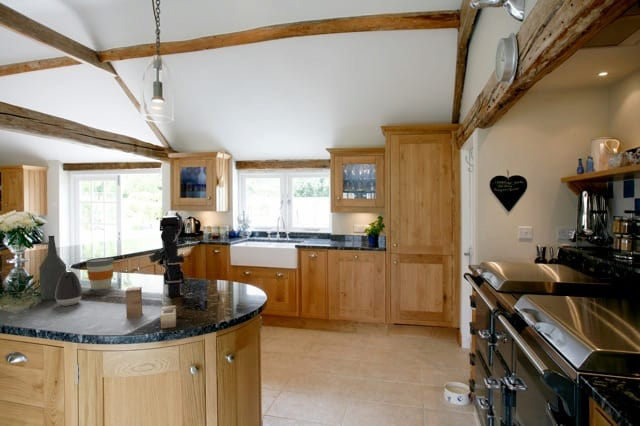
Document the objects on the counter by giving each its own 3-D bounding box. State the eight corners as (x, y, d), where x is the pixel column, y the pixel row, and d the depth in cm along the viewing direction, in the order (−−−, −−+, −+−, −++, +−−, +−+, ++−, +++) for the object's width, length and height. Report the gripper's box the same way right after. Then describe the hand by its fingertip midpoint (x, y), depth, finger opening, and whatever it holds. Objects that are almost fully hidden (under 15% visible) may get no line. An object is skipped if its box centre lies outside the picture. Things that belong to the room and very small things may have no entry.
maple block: (162, 306, 140) (160, 315, 130) (175, 305, 142) (175, 313, 132) (162, 319, 141) (161, 329, 130) (176, 317, 142) (175, 327, 132)
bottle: (43, 301, 165) (39, 237, 164) (38, 297, 172) (35, 235, 171) (69, 296, 173) (66, 235, 172) (64, 293, 180) (61, 233, 178)
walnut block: (128, 314, 146) (127, 287, 146) (142, 312, 148) (141, 286, 148) (126, 318, 142) (125, 290, 141) (140, 316, 143) (139, 289, 143)
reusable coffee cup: (115, 287, 189) (114, 259, 188) (87, 291, 182) (86, 262, 181) (113, 283, 199) (112, 256, 199) (87, 286, 192) (85, 259, 192)
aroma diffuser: (53, 309, 154) (51, 274, 153) (57, 302, 163) (56, 270, 162) (81, 305, 159) (79, 271, 158) (84, 299, 168) (82, 267, 167)
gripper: (145, 247, 158) (145, 282, 156) (156, 243, 144) (156, 282, 142) (171, 246, 165) (171, 280, 163) (184, 242, 151) (185, 280, 149)
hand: (170, 280), depth 154 cm, fingers closed
